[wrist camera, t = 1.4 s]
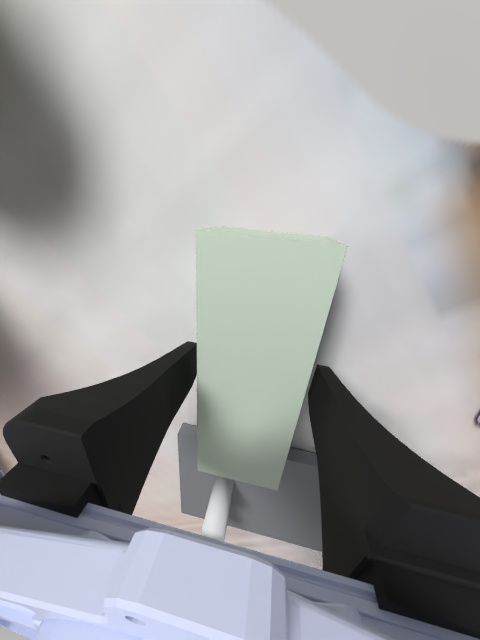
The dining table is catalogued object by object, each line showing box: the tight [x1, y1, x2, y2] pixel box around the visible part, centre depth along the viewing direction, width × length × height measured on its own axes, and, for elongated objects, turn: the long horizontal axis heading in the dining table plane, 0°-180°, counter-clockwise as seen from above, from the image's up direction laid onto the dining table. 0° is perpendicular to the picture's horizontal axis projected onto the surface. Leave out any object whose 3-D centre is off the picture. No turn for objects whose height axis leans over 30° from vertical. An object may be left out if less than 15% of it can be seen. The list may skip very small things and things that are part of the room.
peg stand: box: [178, 423, 322, 552], centre depth 17 cm, size 18×12×4 cm, turn 85°
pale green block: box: [196, 226, 348, 490], centre depth 12 cm, size 14×5×4 cm, turn 175°
